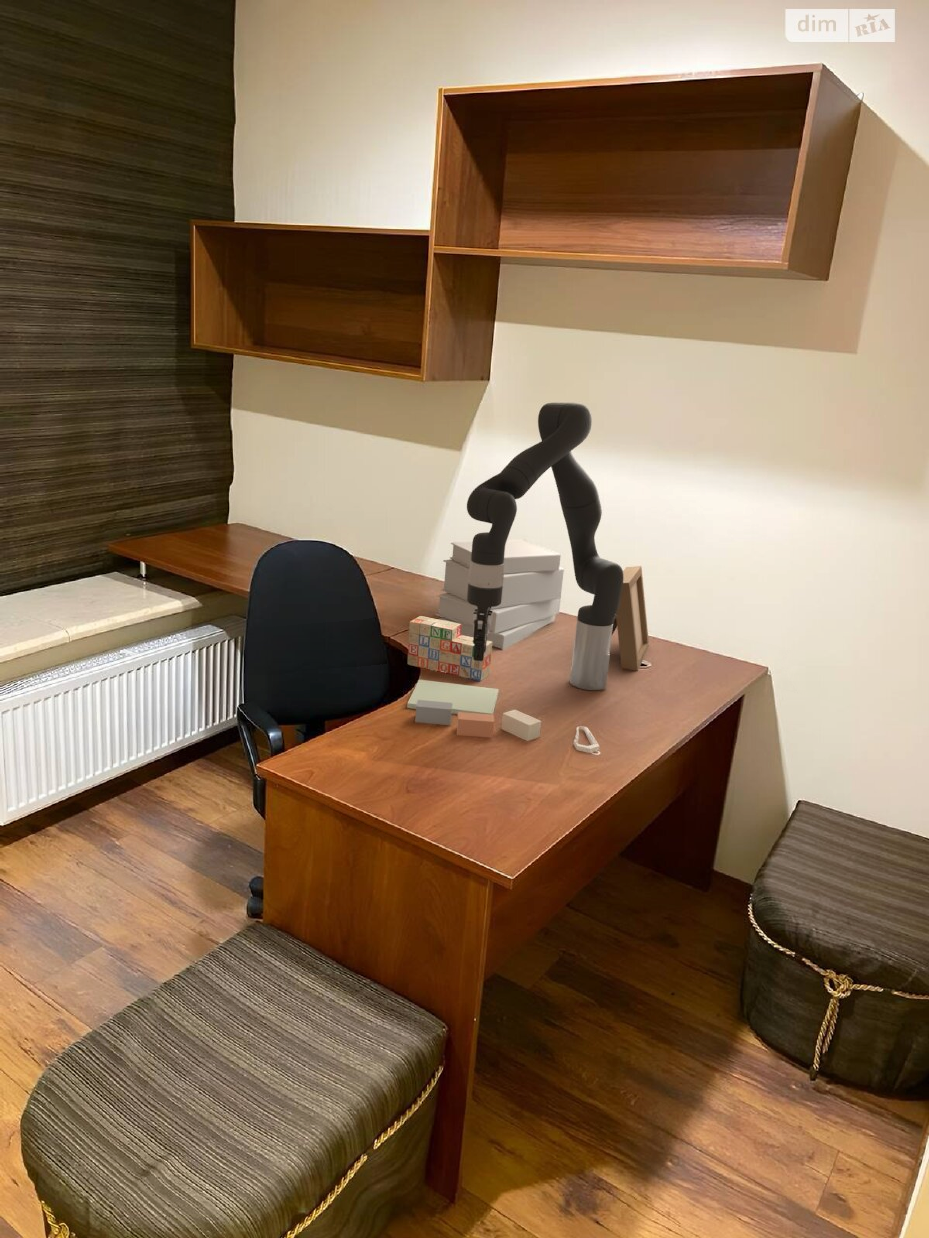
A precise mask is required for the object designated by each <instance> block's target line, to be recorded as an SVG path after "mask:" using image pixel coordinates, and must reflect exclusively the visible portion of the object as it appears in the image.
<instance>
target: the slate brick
mask: <svg viewBox="0 0 929 1238" xmlns="http://www.w3.org/2000/svg"><path fill="white" fill-rule="evenodd" d="M452 715H453V714H452V703H448V702H437V701H426V700H418V701H417V705H416V709H415V719H414V723H421V724H422V723H423V724H430V725H431V724H433V725H444V726H451V722H452Z"/></svg>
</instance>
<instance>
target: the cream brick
mask: <svg viewBox="0 0 929 1238" xmlns="http://www.w3.org/2000/svg"><path fill="white" fill-rule="evenodd" d="M541 728H542V720H539V719H537V718H535V717H533V716H531V715H528V714H526V713H524V712H521V711H519V710H517V709H512V710H510V711H505V712H503V713H502V717H501V727H500V729H501V730H503V731H505V732H507V733H509V734H511V735H514V736H516V737H518V738H520V739H522V740H524V741H526V742H530V741H533V740H534V739H538V738H540V736H541V730H542V729H541Z"/></svg>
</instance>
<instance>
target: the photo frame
mask: <svg viewBox="0 0 929 1238" xmlns="http://www.w3.org/2000/svg"><path fill="white" fill-rule="evenodd" d="M642 568H643V567H642V565H636V566H627V567H625V568H624V569H623V576H624V578H623V587H622V592H621V597H620V602H619V608H618V611H617V613H616V616H615V618H614V623H613V630H612V636H613V634H614V632H615V631H616V630H617V636H618V648H619V656H620V657H619V658H620V665H621V668H622V669H626V670H631V671H637V672H639V669H640V667H641V665H642V663H643V661H644V658H645V656H646V654H647V652H648V649H649V647H650V640H649V630H648V629H649V628H648V621H647V612H646V610H647V609H646V601H645V600H646V598H645V590H644V578H643V569H642Z"/></svg>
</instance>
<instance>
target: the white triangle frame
mask: <svg viewBox="0 0 929 1238" xmlns="http://www.w3.org/2000/svg"><path fill="white" fill-rule="evenodd" d="M575 730H576V731H575V735H574V740H573V746H574V749H576V751H580V752H584V753H587V754H592V755H596V756H598V755H599V756H600V754H601V752H600V745H599V743H598V741H597V740H596V738H595V737H594V735H593V733H592V732H591V731H590V729H589V728H588V727H587V726H583V725H580V726H576V728H575ZM580 730H583V732H584V733H585V736H586V737H587V739H588V742H589V743H590V744H589V745H584V744H580V743H579V739H580ZM594 752H596V753H594Z"/></svg>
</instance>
